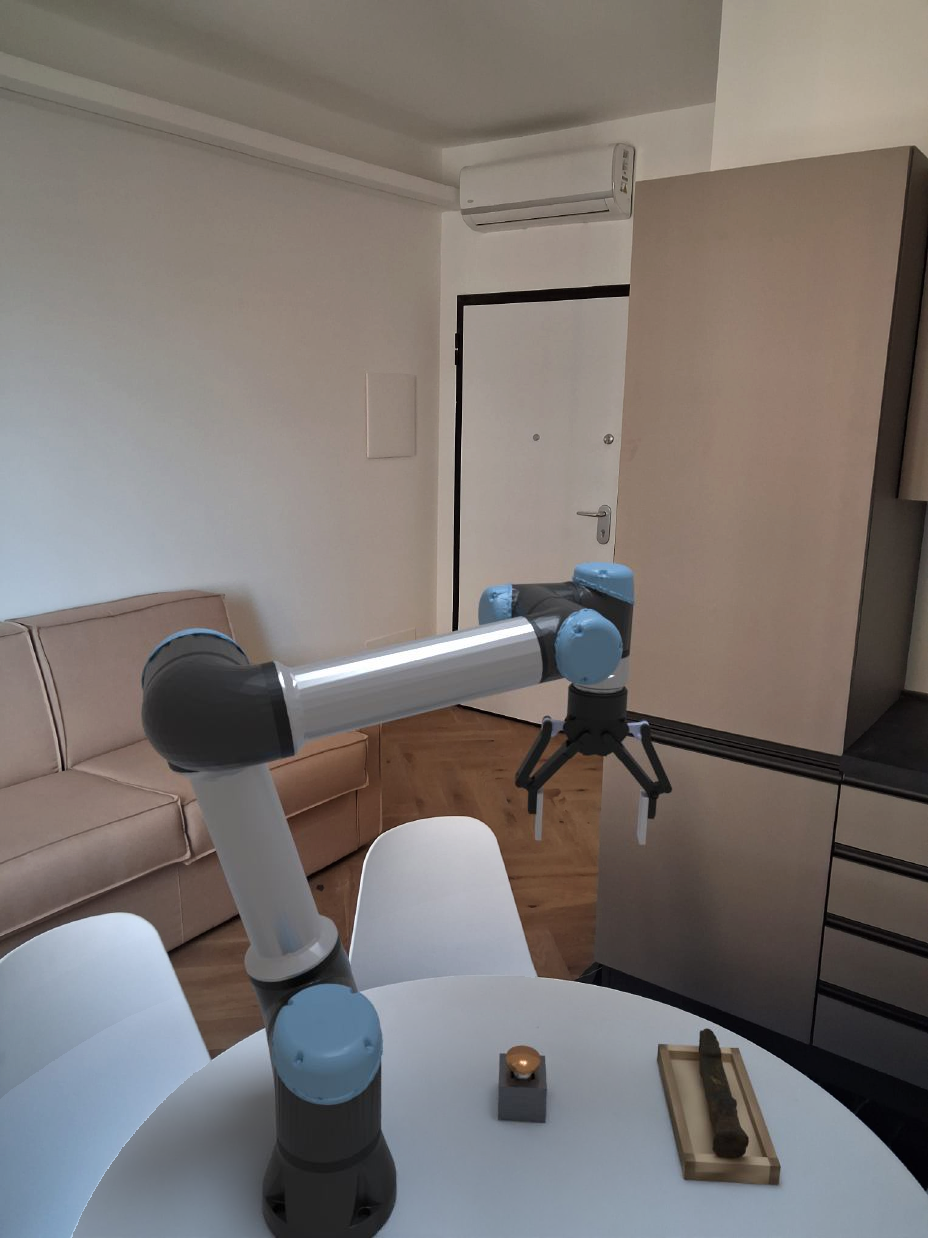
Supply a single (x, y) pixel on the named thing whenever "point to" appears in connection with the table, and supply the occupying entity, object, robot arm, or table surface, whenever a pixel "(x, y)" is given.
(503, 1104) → the socket block
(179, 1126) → the table surface
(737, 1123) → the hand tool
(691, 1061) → the tray
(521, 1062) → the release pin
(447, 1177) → the table surface
